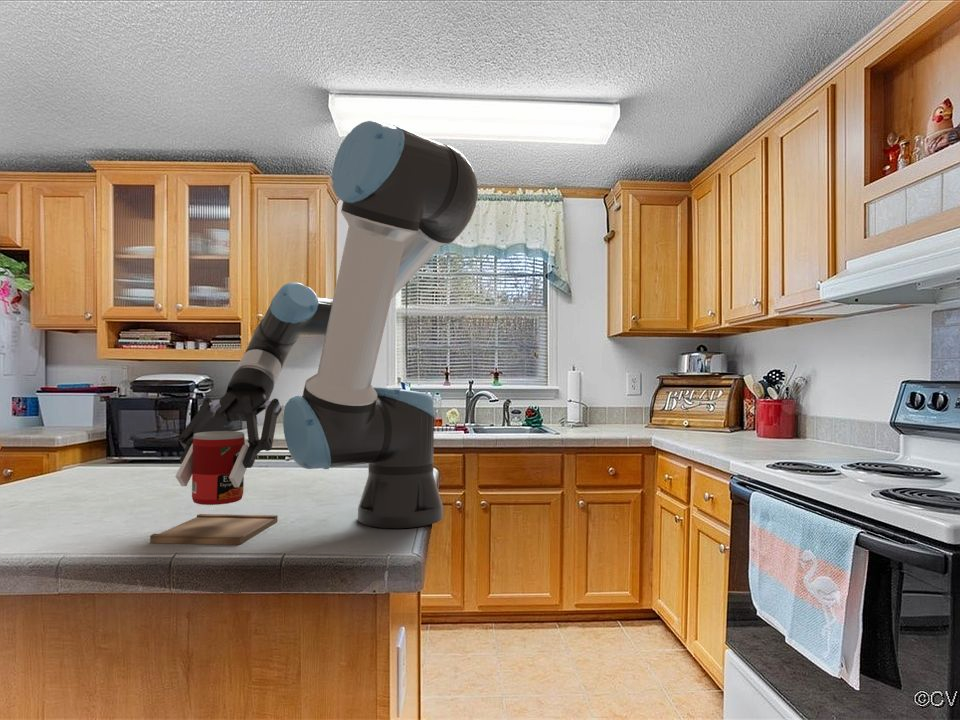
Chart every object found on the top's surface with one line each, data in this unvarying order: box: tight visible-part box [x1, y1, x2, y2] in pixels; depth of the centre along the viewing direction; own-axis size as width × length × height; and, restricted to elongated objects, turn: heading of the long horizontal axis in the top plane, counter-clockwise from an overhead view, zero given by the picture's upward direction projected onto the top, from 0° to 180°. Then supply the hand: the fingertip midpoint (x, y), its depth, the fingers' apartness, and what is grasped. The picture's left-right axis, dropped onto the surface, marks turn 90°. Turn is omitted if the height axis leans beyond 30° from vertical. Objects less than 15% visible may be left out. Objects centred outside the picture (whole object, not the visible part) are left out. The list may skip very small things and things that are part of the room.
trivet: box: [149, 513, 279, 546], centre depth 94 cm, size 14×14×1 cm
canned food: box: [191, 430, 246, 506], centre depth 95 cm, size 8×8×11 cm
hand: (207, 481), depth 91 cm, fingers closed on canned food, 8 cm apart
